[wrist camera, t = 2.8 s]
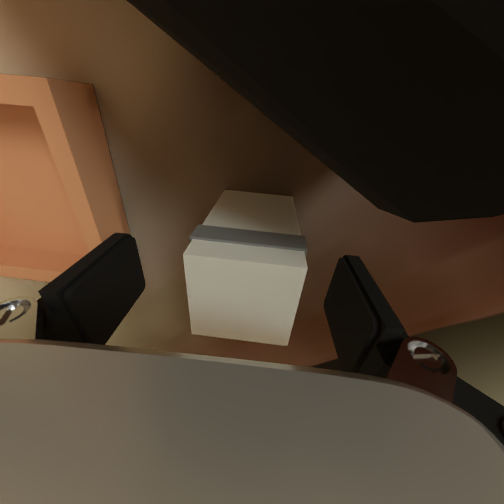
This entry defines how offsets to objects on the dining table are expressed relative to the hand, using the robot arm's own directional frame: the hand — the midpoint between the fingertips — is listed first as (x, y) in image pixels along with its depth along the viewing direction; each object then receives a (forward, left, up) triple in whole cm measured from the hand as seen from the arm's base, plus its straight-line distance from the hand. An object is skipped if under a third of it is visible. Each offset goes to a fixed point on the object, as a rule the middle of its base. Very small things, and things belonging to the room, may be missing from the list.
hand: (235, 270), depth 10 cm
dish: (+13, -1, -5) cm, 14 cm away
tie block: (-1, 0, -5) cm, 5 cm away
